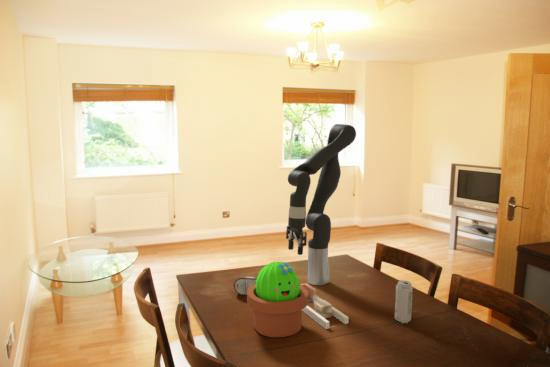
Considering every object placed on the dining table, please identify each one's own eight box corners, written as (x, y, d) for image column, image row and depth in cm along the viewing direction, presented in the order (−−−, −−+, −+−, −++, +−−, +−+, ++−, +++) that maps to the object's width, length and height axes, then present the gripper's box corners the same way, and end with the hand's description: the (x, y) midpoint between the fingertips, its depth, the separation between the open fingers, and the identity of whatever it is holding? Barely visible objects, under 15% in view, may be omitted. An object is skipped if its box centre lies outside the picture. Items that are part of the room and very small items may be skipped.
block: (324, 312, 171) (324, 300, 170) (331, 317, 166) (331, 304, 166) (313, 314, 169) (313, 302, 168) (320, 319, 164) (320, 307, 164)
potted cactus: (240, 318, 165) (239, 255, 161) (293, 310, 172) (293, 249, 169) (258, 346, 144) (258, 274, 141) (317, 335, 152) (318, 267, 149)
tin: (268, 294, 188) (268, 275, 187) (267, 297, 185) (267, 278, 184) (234, 292, 190) (234, 274, 189) (233, 295, 187) (233, 276, 186)
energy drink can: (396, 315, 168) (398, 278, 165) (412, 319, 165) (414, 281, 163) (392, 322, 162) (394, 283, 160) (409, 325, 159) (411, 286, 157)
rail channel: (306, 294, 188) (306, 283, 188) (348, 323, 161) (348, 310, 160) (286, 298, 184) (286, 286, 183) (325, 329, 156) (326, 316, 156)
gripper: (312, 218, 185) (310, 255, 187) (296, 212, 197) (294, 247, 199) (297, 219, 181) (295, 257, 183) (282, 213, 194) (280, 248, 196)
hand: (295, 251), depth 191 cm, fingers open, 8 cm apart
